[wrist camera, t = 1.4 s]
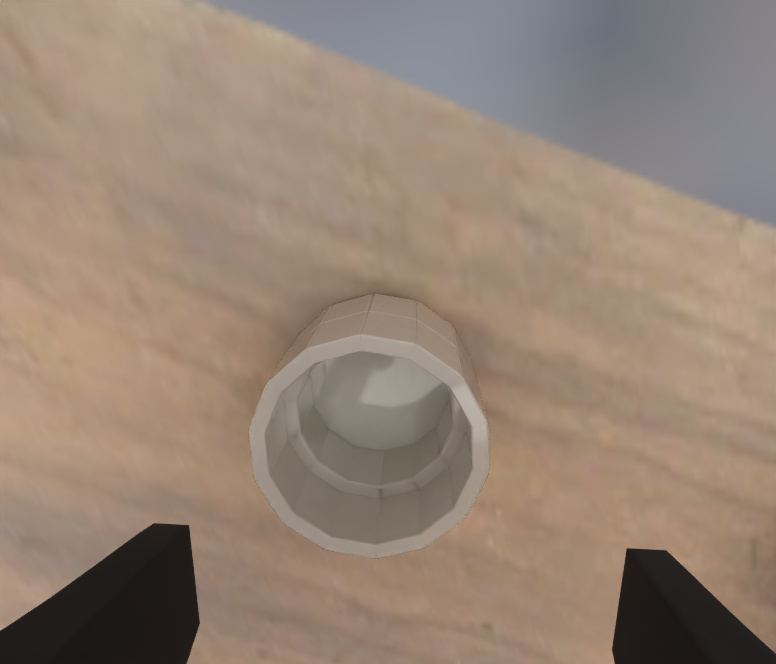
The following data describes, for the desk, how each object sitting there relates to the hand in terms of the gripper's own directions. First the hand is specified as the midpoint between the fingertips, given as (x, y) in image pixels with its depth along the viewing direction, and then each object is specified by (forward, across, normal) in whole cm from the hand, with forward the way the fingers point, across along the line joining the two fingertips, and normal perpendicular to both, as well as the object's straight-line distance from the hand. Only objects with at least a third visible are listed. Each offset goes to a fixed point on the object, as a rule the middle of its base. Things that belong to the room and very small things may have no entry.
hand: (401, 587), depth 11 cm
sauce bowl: (+10, +1, 0) cm, 10 cm away
